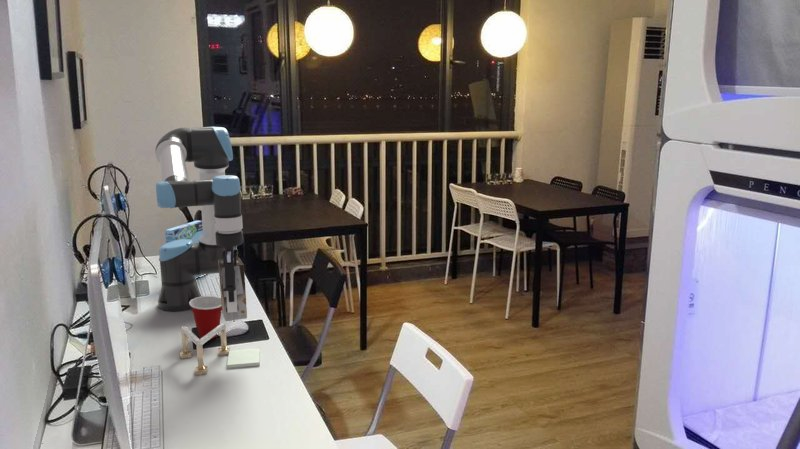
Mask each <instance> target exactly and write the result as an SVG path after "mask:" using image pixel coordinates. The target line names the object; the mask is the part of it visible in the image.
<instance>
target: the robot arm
mask: <svg viewBox="0 0 800 449" xmlns="http://www.w3.org/2000/svg"><path fill="white" fill-rule="evenodd" d="M231 143H232V142H231V139H230V134H229V131H228V130H227V128H225V127H222V126H213V125H212V126H199V127H198V126H197V127H196V126H195V127H179V128H175V129H171V130H170V131H169V132H167V133H165V134H164V135H163V136H162V137H161V138H160V139H159V140H158V142H157V144H156V146H155V150H154V151H155V158H156V160H157V162H159V166H160V177H161V181H158V182H157V183H156V184H155V193H156V204H157V207H159V208H160V209H168V208H169V209H175V208H186V207H200V209H201V210H200V211H201V221H202V226H203V234H202V235H201V236H200V237H199V243H194V244H193V242H192V240H190V239H181V240H176V241H172V242H169V243H166V242H165V243H164V244H162V245H161V246H160V248H159V251H158V252H159V253H158V255H159V256H158V261H159V266H160V268H159V269H160V280H161V288H160V291H159V295H158V299H157V305H158V308H159V309H160V310H162V311H168V312H178V311H179V312H180V311H186V310H192V308H191V306H190V304H189V302H190V301H191V300H192V299H194V298H197V297H202V296H203V295H202V294H201V291H200V289H199V287H198V285H197V282H196V279H195V275H204V274H207V275H213V274H219V264H218V260H221V259H224V266H225V286H226V287H225V289H223V291H226V297H227V312H228V313H230V312H237V311H238V310H237V294H236V287H235V269H234V265H237V260H238V257H239V256H238V255H239V251H238V250H239V249H237V247H238V246H240V245H243V243H244V233H243V230H242V229H244V227H243V226H244V225H243V224H244V223H243V215H242V200H241V195H242V194H241V190H242V187H241V182H240V178H239V177H238V176H237V175H234V174H233V175H232V174H231V175H230V174H228V175H227V174H226V171H225V170H226V169H228V168H229V164H230V163H229V162H231V161H233V159H234V154H233V153H234V152H233V148H232V146H233V145H232V144H231ZM186 163H193V167H194V168H195V169H196V170H197V171H198V173H199V174H198V176H199V179H193V180H191V179H190V180H189V176H188V175H189V174H188V171H187V164H186Z"/></svg>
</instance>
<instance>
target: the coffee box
mask: <svg viewBox="0 0 800 449" xmlns="http://www.w3.org/2000/svg"><path fill="white" fill-rule="evenodd" d="M218 264H219V273H218V278H219V288H220V289H219V290H220V298H221V304H222V311H221V314H222V315H223V318H224V321H225V322H231V321H238V320H246V319H247V318H248V308H247V294H246V292H247V291H246V278H245V277H246V276H245V275H246V274H245V264H244V263H243V261H242V260H241V258H240V257H239V256H238V260H237V265H234V269H235V287H236V294H237V310H238V311H237V312H230V313H228V312H227V297H226V291H223V289H225V287H226V286H225V266H224V259H221V260H218Z"/></svg>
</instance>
